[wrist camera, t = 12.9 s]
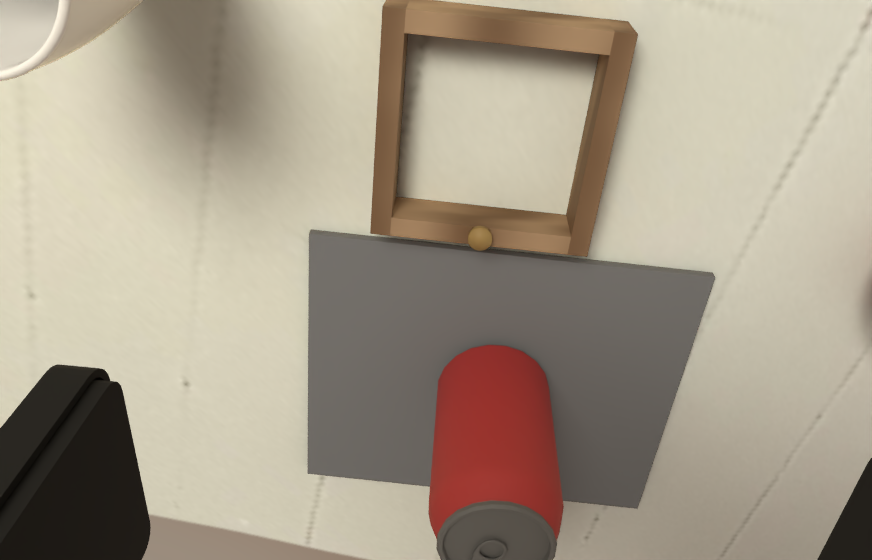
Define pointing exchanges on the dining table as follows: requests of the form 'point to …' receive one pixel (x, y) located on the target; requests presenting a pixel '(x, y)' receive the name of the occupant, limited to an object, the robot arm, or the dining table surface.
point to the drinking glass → (52, 30)
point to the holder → (424, 16)
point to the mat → (492, 325)
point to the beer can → (494, 459)
